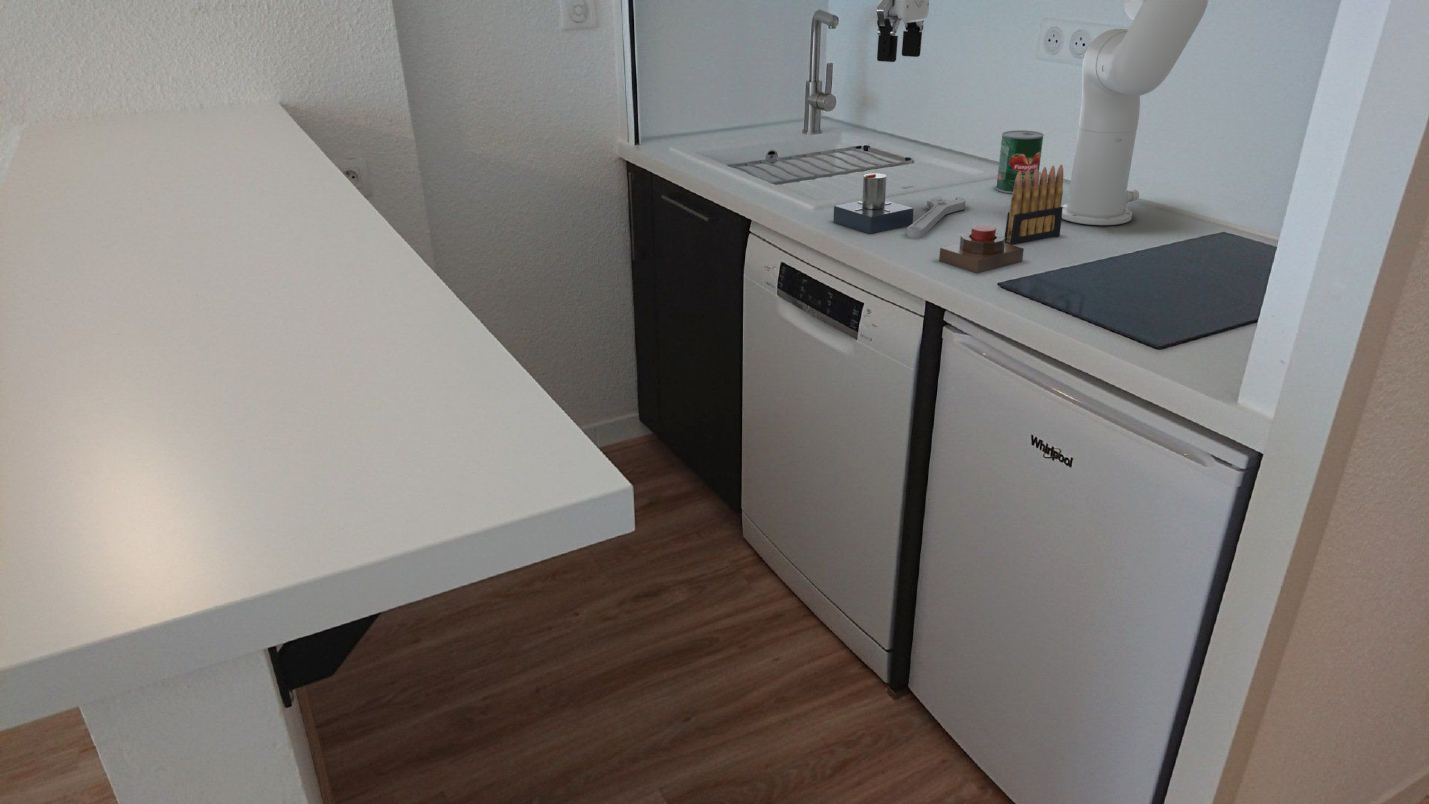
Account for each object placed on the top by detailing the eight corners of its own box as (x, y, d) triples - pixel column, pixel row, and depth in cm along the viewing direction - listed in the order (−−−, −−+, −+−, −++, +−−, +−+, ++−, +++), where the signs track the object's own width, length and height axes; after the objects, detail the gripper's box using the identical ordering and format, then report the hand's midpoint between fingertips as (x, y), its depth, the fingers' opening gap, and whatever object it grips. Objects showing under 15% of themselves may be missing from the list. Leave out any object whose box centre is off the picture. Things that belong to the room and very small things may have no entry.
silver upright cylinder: (874, 202, 172) (876, 170, 170) (889, 207, 169) (891, 174, 167) (857, 206, 170) (858, 173, 168) (872, 210, 167) (874, 177, 165)
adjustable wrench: (920, 239, 161) (920, 229, 161) (884, 235, 164) (885, 225, 164) (968, 206, 180) (969, 197, 179) (936, 203, 183) (936, 193, 183)
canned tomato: (1020, 196, 187) (1026, 138, 182) (987, 189, 193) (993, 133, 188) (1045, 189, 191) (1052, 133, 186) (1012, 183, 197) (1018, 128, 192)
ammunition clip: (1051, 233, 162) (1061, 162, 157) (1059, 236, 161) (1069, 164, 156) (1003, 242, 158) (1011, 170, 153) (1010, 245, 157) (1019, 172, 152)
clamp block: (875, 213, 177) (875, 196, 176) (912, 224, 170) (913, 207, 168) (833, 222, 172) (833, 204, 171) (870, 234, 165) (870, 215, 163)
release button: (982, 234, 150) (983, 223, 149) (999, 239, 147) (1000, 228, 146) (965, 238, 148) (966, 227, 147) (983, 243, 145) (984, 232, 145)
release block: (983, 250, 155) (985, 226, 153) (1022, 262, 148) (1025, 237, 147) (938, 261, 150) (940, 236, 148) (977, 273, 144) (979, 248, 142)
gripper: (906, -55, 144) (897, 64, 151) (950, -55, 157) (939, 55, 164) (862, -54, 148) (855, 62, 155) (907, -54, 161) (899, 53, 168)
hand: (898, 58), depth 160 cm, fingers open, 9 cm apart
